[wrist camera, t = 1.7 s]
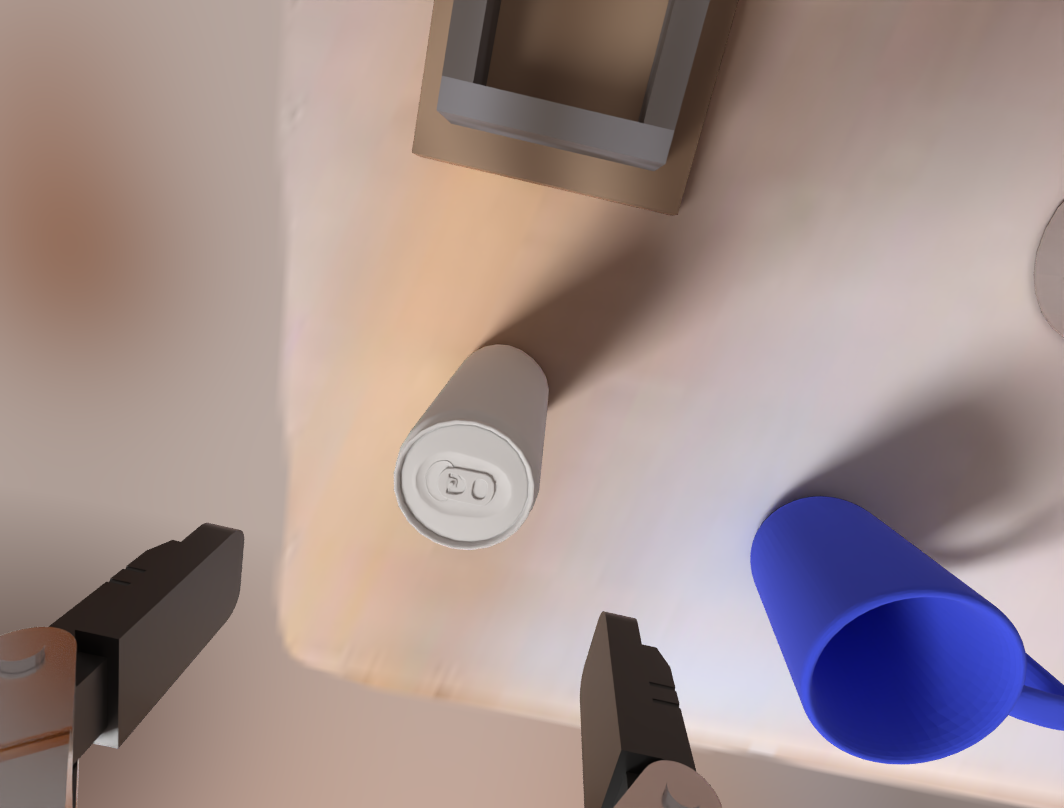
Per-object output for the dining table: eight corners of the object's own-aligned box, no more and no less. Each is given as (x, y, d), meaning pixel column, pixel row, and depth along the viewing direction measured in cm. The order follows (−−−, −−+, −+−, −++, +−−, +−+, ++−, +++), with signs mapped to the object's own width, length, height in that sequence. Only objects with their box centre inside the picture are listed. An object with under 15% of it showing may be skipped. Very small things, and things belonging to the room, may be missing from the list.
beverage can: (464, 333, 29) (398, 401, 18) (557, 352, 29) (552, 432, 18) (449, 421, 31) (380, 538, 19) (539, 439, 31) (523, 566, 19)
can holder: (757, -90, 23) (800, -161, 19) (671, 215, 27) (691, 213, 23) (467, -159, 23) (445, -247, 19) (420, 156, 27) (392, 142, 23)
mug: (906, 646, 33) (1044, 817, 24) (707, 584, 33) (766, 732, 23) (982, 525, 31) (1171, 660, 21) (770, 455, 30) (864, 562, 21)
